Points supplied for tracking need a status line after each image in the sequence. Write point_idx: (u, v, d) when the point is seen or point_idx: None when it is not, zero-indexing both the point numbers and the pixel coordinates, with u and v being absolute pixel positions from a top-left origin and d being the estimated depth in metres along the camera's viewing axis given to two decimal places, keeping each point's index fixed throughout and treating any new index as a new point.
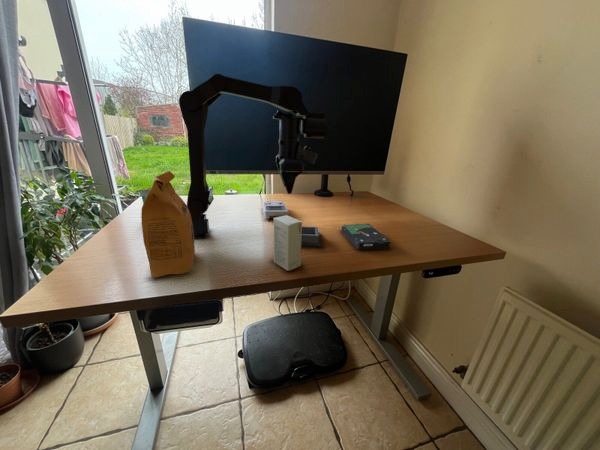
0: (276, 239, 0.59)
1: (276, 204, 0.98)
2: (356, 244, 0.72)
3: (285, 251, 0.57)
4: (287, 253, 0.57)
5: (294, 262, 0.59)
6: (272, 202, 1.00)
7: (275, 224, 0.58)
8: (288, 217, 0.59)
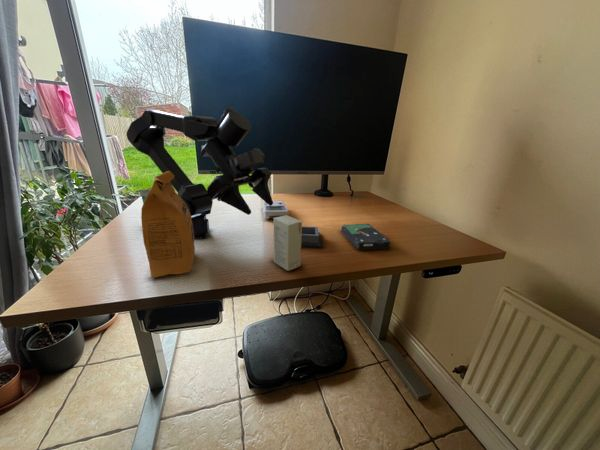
0: (276, 239, 0.59)
1: (276, 204, 0.98)
2: (356, 244, 0.72)
3: (285, 251, 0.57)
4: (287, 253, 0.57)
5: (294, 262, 0.59)
6: None
7: (275, 224, 0.58)
8: (288, 217, 0.59)
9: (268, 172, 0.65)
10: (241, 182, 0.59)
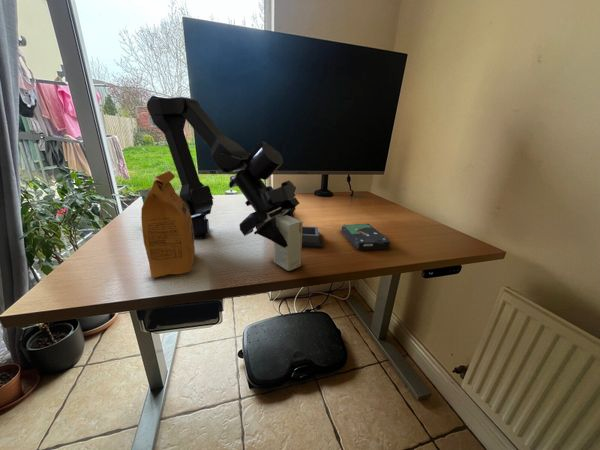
0: None
1: None
2: (356, 244, 0.72)
3: (285, 251, 0.57)
4: (287, 253, 0.57)
5: (294, 262, 0.59)
6: None
7: (276, 224, 0.58)
8: (288, 217, 0.59)
9: (296, 202, 0.64)
10: (271, 215, 0.58)
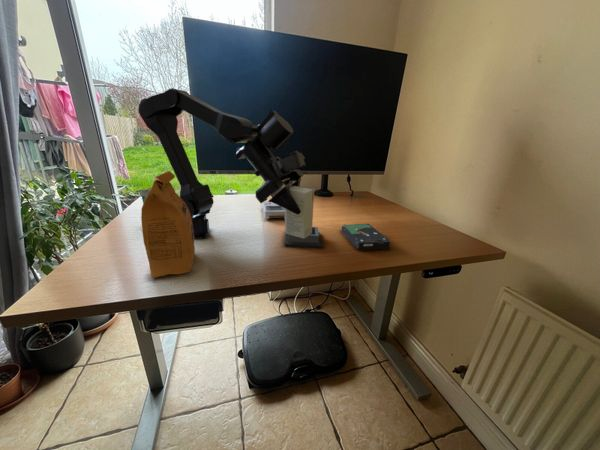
0: None
1: (276, 204, 0.98)
2: (356, 244, 0.72)
3: (301, 220, 0.59)
4: (303, 221, 0.59)
5: (308, 229, 0.62)
6: None
7: None
8: (298, 187, 0.61)
9: (301, 174, 0.66)
10: None
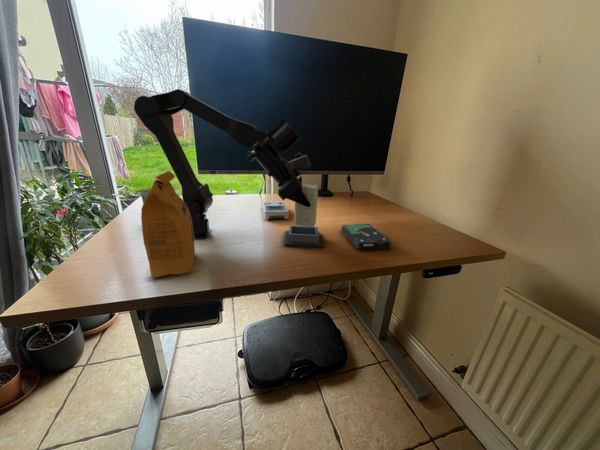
0: (299, 204, 0.70)
1: (276, 204, 0.98)
2: (356, 244, 0.72)
3: (310, 211, 0.70)
4: (313, 212, 0.70)
5: (315, 219, 0.73)
6: (272, 202, 1.00)
7: None
8: (303, 184, 0.71)
9: None
10: None
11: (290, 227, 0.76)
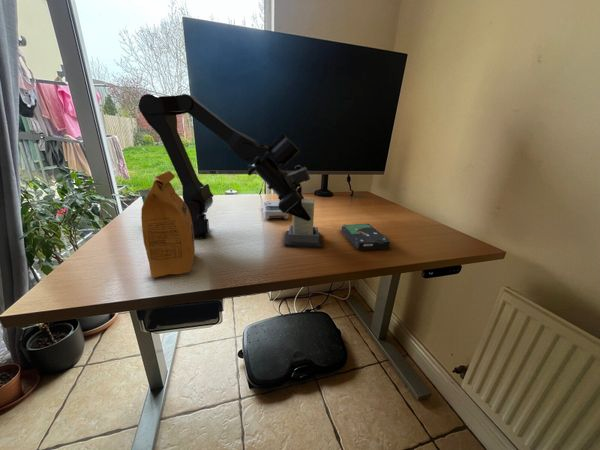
0: (297, 218, 0.71)
1: (276, 204, 0.98)
2: (356, 244, 0.72)
3: (309, 225, 0.72)
4: (311, 226, 0.72)
5: None
6: (272, 202, 1.00)
7: None
8: None
9: (299, 183, 0.77)
10: None
11: (290, 227, 0.76)
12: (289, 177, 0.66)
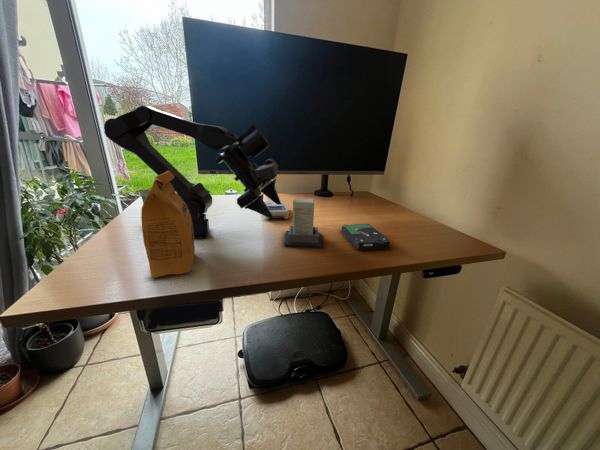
0: (297, 218, 0.71)
1: (276, 204, 0.98)
2: (356, 244, 0.72)
3: (309, 225, 0.72)
4: (311, 226, 0.72)
5: None
6: (272, 202, 1.00)
7: (296, 206, 0.70)
8: (300, 199, 0.72)
9: None
10: (258, 189, 0.69)
11: (290, 227, 0.76)
12: (255, 172, 0.65)
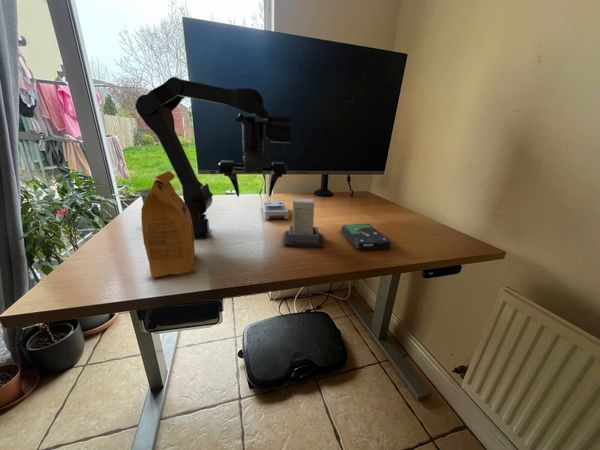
0: (297, 218, 0.71)
1: (276, 204, 0.98)
2: (356, 244, 0.72)
3: (309, 225, 0.72)
4: (311, 226, 0.72)
5: None
6: (272, 202, 1.00)
7: (296, 206, 0.70)
8: (300, 199, 0.72)
9: (281, 172, 0.68)
10: None
11: (290, 227, 0.76)
12: None
